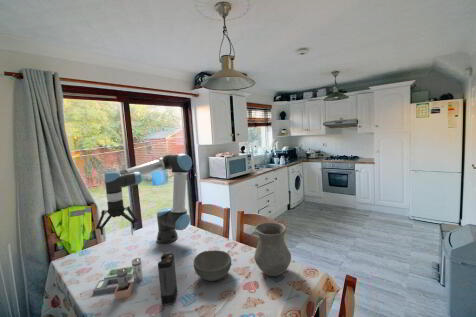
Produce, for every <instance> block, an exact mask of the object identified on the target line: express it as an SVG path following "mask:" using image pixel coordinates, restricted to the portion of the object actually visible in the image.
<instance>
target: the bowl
mask: <svg viewBox="0 0 476 317" xmlns="http://www.w3.org/2000/svg"><path fill="white" fill-rule="evenodd" d="M231 266H232V257H231V254H229V253H228V252H226V251H223V250H218V249H217V250H216V249H215V250H203V251H202V252H200V253H198V254H196V256H195V257H194V260H193V268H194V271H195V274H197V276H199V278H201V279H203V280H205V281H209V282H211V281H213V282H214V281H218V280H221V279H222V278H224V277H225V276H227V274H228V273H229V271H230V269H231Z"/></svg>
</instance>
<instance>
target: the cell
mask: <svg viewBox="0 0 476 317" xmlns="http://www.w3.org/2000/svg"><path fill="white" fill-rule="evenodd" d="M131 266H132V268H133V277H132V278H133V282H134V283H135V284H139V283H140V282H142V281H143V280H144V277H143V267H142V258H140V257H135V258H134V259H132V260H131Z"/></svg>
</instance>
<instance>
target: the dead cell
mask: <svg viewBox="0 0 476 317" xmlns="http://www.w3.org/2000/svg"><path fill="white" fill-rule="evenodd" d="M120 268H121V267H120ZM117 278H118V282H117V286H118V287H119V291H123V290H128V288H129V284H128V282H129V278H128V275H127V268H121V269H119V270H118V271H117Z"/></svg>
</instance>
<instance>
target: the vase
mask: <svg viewBox="0 0 476 317" xmlns="http://www.w3.org/2000/svg"><path fill="white" fill-rule="evenodd" d="M254 231H255V233H257V235H258V242H257V246H256V248H255V252H254V261H255V263H256V266H257V267H258V269H259V270H260V271H261V272H262V273H263V274H265V275H267V276H269V277H278V276H280V275H282V274H284V273H285V272H286V270H288V268H289V266H290V264H291V261H292V254H291V252H290V250H289V249H288V246H287V244H286V241H285V235H286V234H285V233H286V231H287V227H286V225H285V224H283V223H281V222H275V221H274V222H273V221H271V222H270V221H268V222H267V221H266V222H263V223H262V222H261V223H259V224H257V225H256V226H254Z"/></svg>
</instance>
